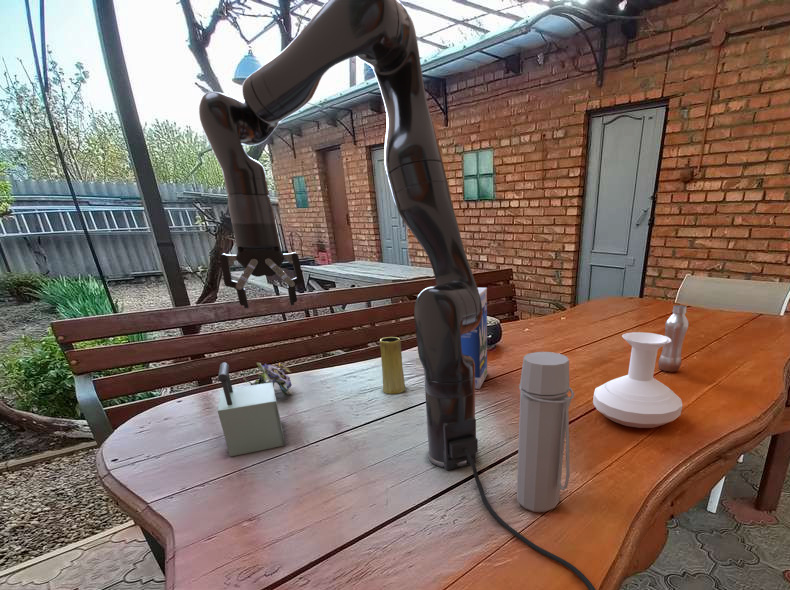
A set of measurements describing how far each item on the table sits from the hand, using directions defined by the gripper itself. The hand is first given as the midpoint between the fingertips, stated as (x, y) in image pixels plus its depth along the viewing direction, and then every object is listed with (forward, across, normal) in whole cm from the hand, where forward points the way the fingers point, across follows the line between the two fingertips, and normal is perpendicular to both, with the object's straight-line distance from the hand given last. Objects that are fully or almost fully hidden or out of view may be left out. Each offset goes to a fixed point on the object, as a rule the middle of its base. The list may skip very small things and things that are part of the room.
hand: (270, 306), depth 88 cm
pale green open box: (+18, -2, -6) cm, 19 cm away
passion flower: (+27, -4, +18) cm, 33 cm away
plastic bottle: (+26, +108, -12) cm, 112 cm away
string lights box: (+26, +48, +6) cm, 56 cm away
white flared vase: (+26, +74, -33) cm, 85 cm away
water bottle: (+26, +35, -52) cm, 68 cm away
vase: (+27, +26, +9) cm, 38 cm away
